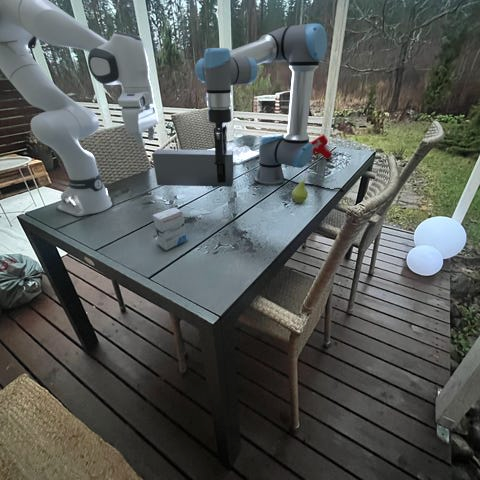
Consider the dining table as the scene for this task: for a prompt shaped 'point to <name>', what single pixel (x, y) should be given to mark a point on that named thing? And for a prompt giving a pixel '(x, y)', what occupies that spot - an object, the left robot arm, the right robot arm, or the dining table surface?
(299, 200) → the fruit
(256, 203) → the dining table surface
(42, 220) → the dining table surface
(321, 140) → the toy gun
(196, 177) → the box
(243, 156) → the relief map
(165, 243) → the ink box
